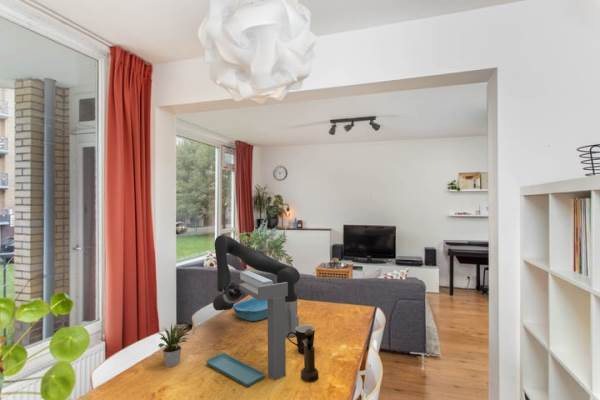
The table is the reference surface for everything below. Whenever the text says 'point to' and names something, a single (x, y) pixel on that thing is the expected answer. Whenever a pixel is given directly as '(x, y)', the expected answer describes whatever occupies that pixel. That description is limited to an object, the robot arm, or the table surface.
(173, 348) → the house plant
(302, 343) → the coffee mug
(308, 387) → the table surface
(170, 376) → the table surface
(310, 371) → the mortar and pestle
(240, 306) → the casserole dish
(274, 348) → the grey gallows post
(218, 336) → the table surface
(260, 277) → the grey rectangular box
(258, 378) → the teal serving tray
